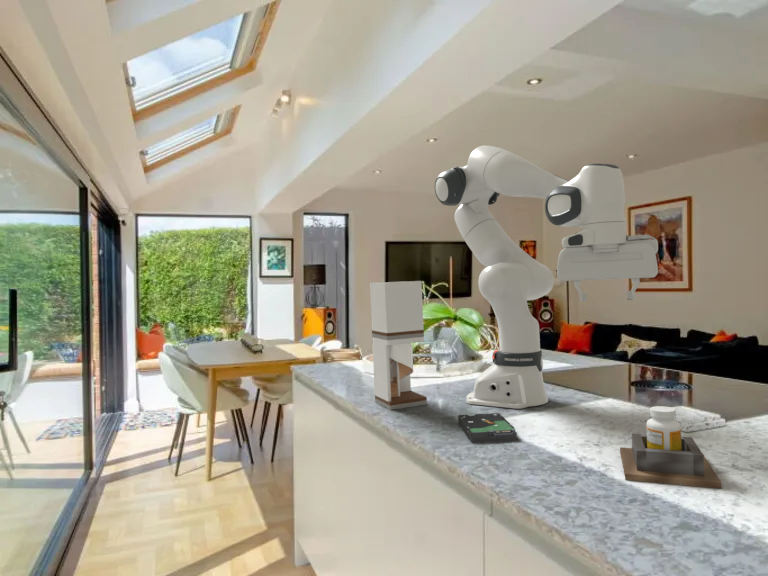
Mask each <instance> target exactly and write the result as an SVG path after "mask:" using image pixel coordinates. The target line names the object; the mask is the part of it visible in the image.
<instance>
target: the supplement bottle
mask: <svg viewBox="0 0 768 576" xmlns="http://www.w3.org/2000/svg"><path fill="white" fill-rule="evenodd" d="M649 414H650V417H651V418H650V419H647V421H646V423H645V424H646V426H645V427H646V434H647V449H661V450H675V451H682V449H681V436H682V428H681V424H680V422H678V421H677V420H676V417H677V412H676V408H674V407H670V406H663V405H662V406H661V405H660V406H659V405H655V406H652V407H650V408H649Z"/></svg>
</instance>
